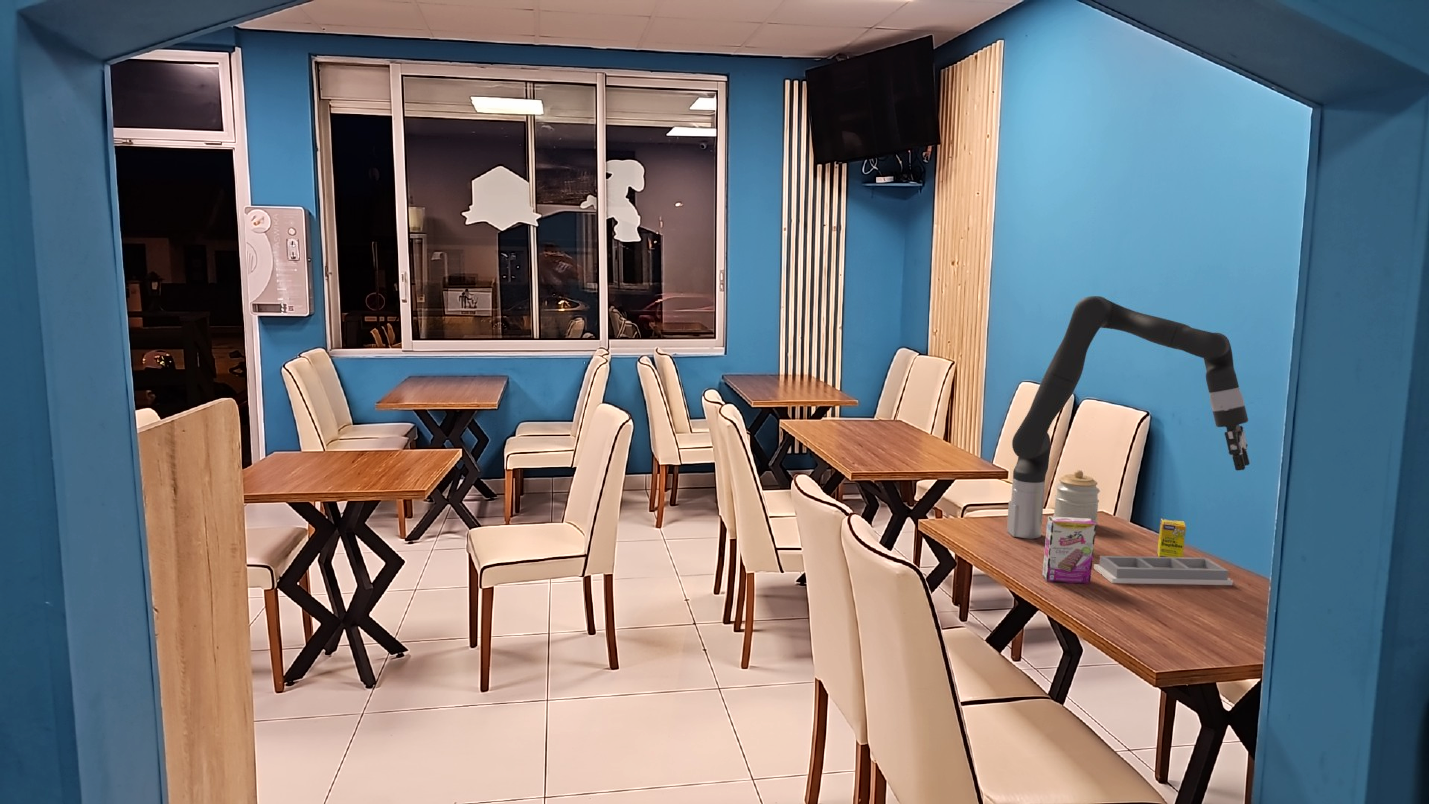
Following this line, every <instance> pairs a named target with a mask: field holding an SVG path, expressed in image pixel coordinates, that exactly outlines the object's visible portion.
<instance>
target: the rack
mask: <svg viewBox="0 0 1429 804" xmlns="http://www.w3.org/2000/svg"><path fill="white" fill-rule="evenodd" d="M1093 569H1094V570H1095V571H1096V572H1098V573H1099V574H1100V575H1101V574H1102V575H1101V576H1103V577H1104V578H1105V579H1106V580H1108V581H1109V582H1110V584H1111V583H1112V584H1141V585H1143V584H1147V585H1149V584H1151V585H1155V584H1156V585H1204V586H1205V585H1206V586H1207V585H1210V586H1213V585H1214V586H1215V585H1216V586H1233V583H1234V580H1233V579H1232V578H1230V577H1229V569H1226V568H1225V567H1224V566H1221V565H1219V564H1218V563H1216V562H1215V561H1213V560H1211V559H1210V558H1208V557H1193V556H1192V557H1190V556H1189V557H1184V556H1183V557H1158V556H1130V555H1129V556H1128V555H1127V556H1124V555H1123V556H1120V555H1119V556H1118V555H1100V556H1099V563H1097V564H1095V563H1094V564H1093Z"/></svg>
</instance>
